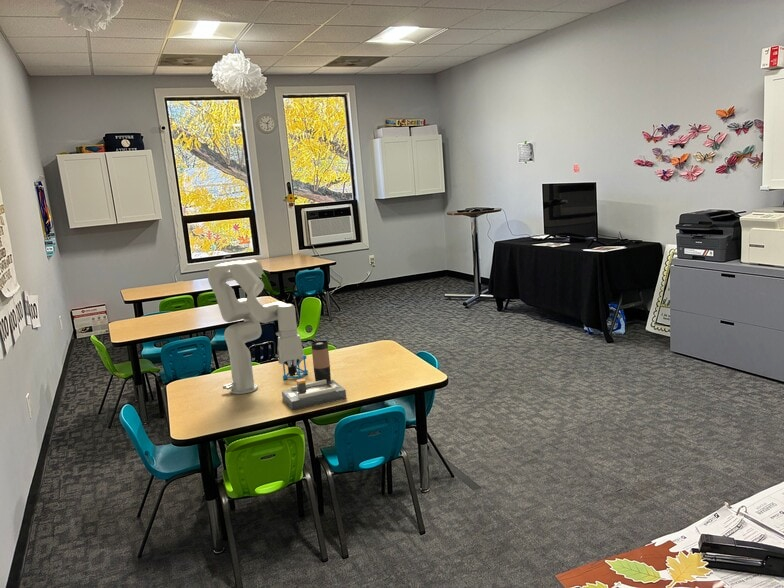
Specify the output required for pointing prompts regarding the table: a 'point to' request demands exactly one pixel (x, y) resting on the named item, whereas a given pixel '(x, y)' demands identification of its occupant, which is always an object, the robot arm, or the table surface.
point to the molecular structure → (296, 370)
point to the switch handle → (301, 386)
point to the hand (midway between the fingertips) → (292, 374)
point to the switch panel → (314, 394)
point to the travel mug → (321, 360)
